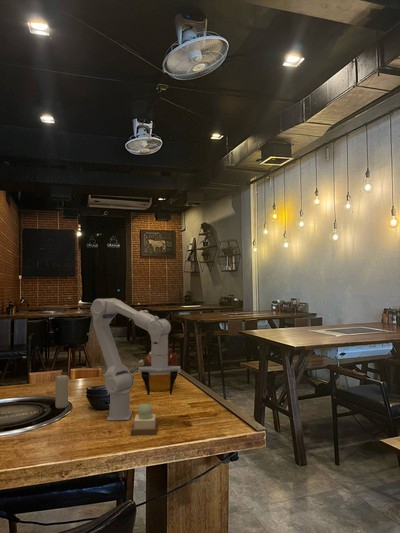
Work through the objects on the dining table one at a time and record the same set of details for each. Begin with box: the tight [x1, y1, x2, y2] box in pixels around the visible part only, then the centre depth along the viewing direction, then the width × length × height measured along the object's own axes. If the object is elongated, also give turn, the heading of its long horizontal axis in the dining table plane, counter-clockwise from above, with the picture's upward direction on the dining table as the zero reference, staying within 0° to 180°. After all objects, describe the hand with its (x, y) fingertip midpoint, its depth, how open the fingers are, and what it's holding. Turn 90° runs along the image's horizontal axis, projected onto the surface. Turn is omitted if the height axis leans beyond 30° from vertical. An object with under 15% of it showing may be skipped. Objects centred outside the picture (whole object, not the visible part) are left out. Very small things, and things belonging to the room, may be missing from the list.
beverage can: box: [54, 374, 69, 409], centre depth 158 cm, size 5×5×12 cm
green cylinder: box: [137, 402, 153, 420], centre depth 131 cm, size 4×4×4 cm
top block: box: [133, 413, 157, 429], centre depth 131 cm, size 6×6×2 cm
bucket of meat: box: [138, 347, 179, 393], centre depth 186 cm, size 20×16×20 cm
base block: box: [130, 420, 158, 437], centre depth 130 cm, size 8×8×2 cm
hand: (159, 393), depth 137 cm, fingers open, 7 cm apart
